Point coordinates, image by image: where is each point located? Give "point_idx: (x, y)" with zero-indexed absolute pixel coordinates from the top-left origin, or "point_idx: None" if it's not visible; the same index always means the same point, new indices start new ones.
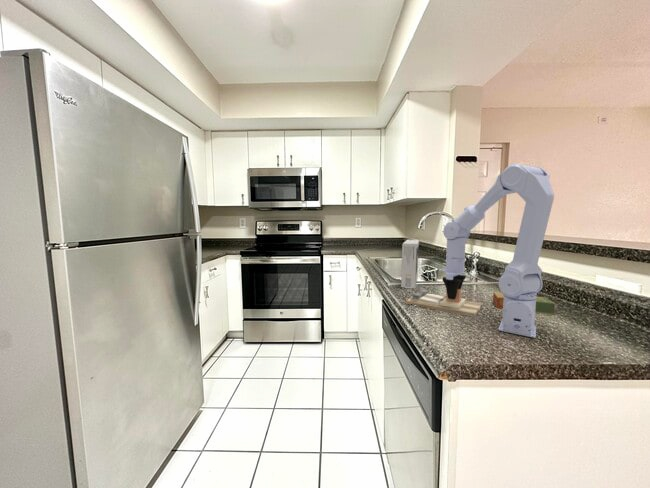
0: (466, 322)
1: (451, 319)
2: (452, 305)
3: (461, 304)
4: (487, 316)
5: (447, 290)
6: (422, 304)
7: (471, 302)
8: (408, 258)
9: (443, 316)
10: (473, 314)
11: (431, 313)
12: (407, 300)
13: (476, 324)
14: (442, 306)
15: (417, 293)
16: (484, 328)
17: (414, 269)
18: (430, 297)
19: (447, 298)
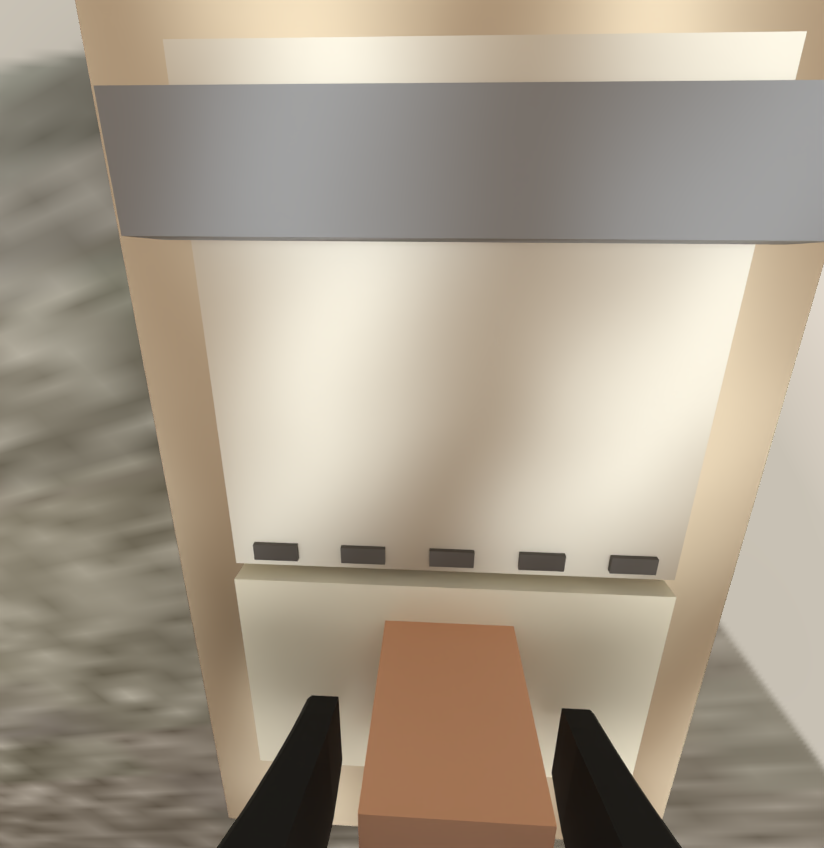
0: (57, 753)
1: (24, 665)
2: (258, 689)
3: (360, 756)
4: (337, 844)
5: (228, 842)
6: (143, 341)
7: (645, 777)
8: None
9: (42, 602)
10: (231, 802)
11: (27, 493)
12: (150, 16)
13: (75, 801)
14: None
15: (331, 130)
16: (39, 837)
17: None
18: (454, 385)
19: (380, 662)
